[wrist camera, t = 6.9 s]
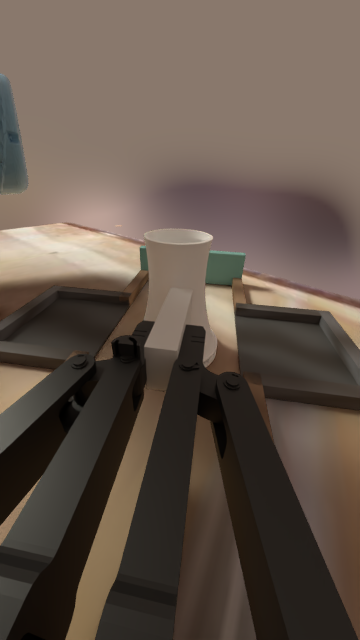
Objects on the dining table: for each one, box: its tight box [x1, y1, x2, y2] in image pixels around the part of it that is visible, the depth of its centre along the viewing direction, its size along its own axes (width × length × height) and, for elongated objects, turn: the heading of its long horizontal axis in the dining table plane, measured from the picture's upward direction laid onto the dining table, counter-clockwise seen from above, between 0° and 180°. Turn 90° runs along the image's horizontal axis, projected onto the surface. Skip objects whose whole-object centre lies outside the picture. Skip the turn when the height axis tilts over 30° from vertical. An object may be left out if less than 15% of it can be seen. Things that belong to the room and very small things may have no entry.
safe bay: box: [140, 246, 246, 285], centre depth 34 cm, size 1×15×4 cm, turn 82°
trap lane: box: [0, 270, 360, 443], centre depth 23 cm, size 27×33×1 cm
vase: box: [143, 229, 217, 368], centre depth 19 cm, size 8×8×10 cm
